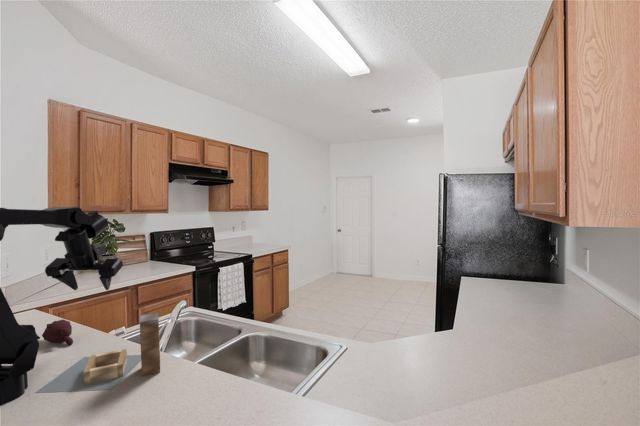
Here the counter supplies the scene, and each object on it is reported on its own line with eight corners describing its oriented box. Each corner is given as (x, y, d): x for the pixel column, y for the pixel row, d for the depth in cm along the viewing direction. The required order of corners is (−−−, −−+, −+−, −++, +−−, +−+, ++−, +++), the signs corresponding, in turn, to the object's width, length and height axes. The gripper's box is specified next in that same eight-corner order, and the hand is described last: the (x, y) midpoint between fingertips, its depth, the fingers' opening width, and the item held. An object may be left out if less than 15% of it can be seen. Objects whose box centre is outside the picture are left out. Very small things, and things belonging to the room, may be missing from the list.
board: (112, 393, 71) (112, 389, 71) (34, 397, 71) (34, 392, 70) (147, 358, 87) (147, 354, 87) (84, 360, 86) (84, 356, 86)
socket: (83, 384, 73) (83, 372, 73) (91, 366, 81) (90, 355, 81) (123, 375, 77) (122, 364, 77) (127, 359, 85) (126, 348, 85)
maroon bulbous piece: (29, 322, 98) (50, 336, 91) (57, 309, 104) (79, 321, 97) (37, 340, 100) (58, 355, 93) (64, 326, 106) (86, 339, 99)
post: (142, 380, 76) (139, 322, 76) (143, 370, 81) (140, 315, 80) (160, 376, 78) (158, 319, 78) (160, 366, 83) (158, 312, 82)
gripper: (126, 233, 98) (135, 273, 105) (62, 232, 96) (76, 272, 103) (107, 253, 88) (119, 296, 95) (35, 252, 86) (53, 296, 93)
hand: (92, 289), depth 97 cm, fingers open, 9 cm apart
